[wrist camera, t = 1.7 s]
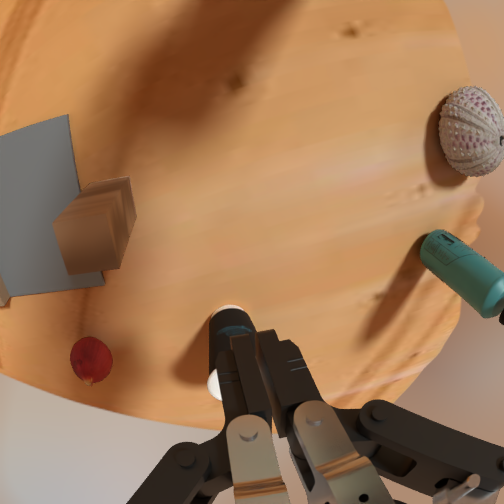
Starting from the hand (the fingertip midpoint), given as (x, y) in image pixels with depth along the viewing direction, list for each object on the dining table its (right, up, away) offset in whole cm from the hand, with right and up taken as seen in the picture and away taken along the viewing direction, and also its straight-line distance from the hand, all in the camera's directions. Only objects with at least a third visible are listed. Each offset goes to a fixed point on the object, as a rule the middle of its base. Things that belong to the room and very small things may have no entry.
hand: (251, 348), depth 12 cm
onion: (-22, -8, +26) cm, 35 cm away
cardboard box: (-15, +9, +18) cm, 25 cm away
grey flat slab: (-25, +8, +16) cm, 31 cm away
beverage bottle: (+27, +5, +31) cm, 41 cm away
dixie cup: (-3, -5, +29) cm, 29 cm away
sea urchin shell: (+30, +22, +23) cm, 44 cm away
